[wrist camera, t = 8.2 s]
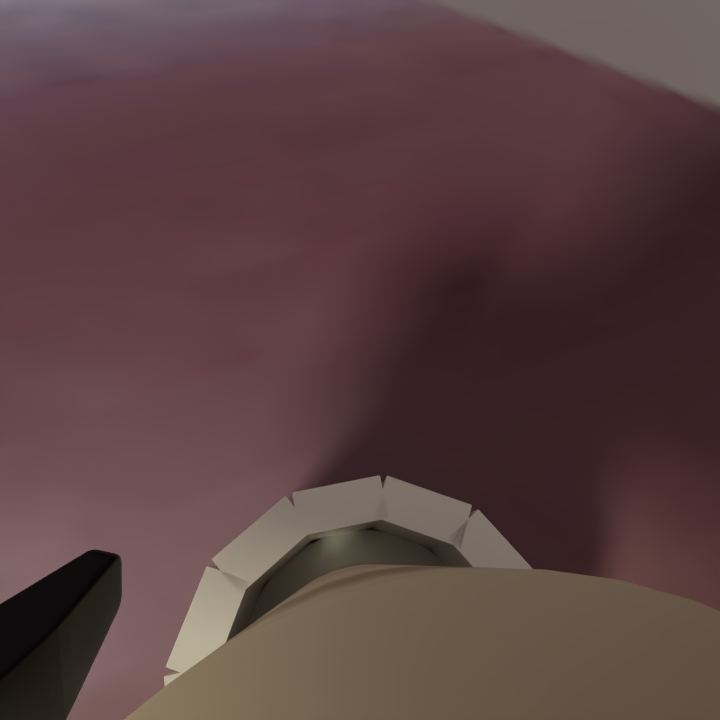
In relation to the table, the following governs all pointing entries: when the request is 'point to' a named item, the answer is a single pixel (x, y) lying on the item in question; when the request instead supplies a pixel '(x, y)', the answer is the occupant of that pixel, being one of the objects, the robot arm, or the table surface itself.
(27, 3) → the table surface
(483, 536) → the socket
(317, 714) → the pepper mill
